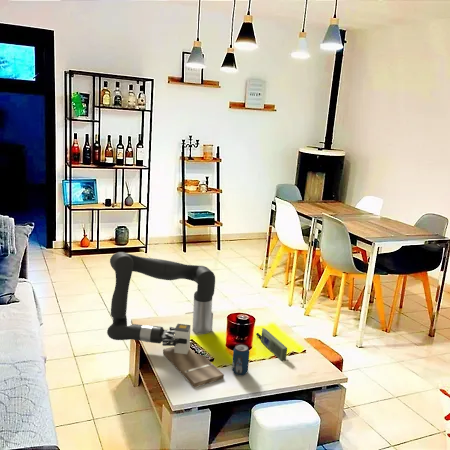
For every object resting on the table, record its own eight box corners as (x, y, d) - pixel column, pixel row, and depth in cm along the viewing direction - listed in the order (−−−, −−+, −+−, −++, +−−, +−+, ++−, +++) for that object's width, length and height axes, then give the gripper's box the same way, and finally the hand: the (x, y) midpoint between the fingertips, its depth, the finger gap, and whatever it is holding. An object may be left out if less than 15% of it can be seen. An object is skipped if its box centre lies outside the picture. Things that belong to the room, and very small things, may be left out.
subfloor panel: (190, 346, 222) (190, 342, 222) (223, 378, 198) (223, 374, 198) (163, 353, 215) (163, 348, 214) (194, 387, 191) (194, 382, 190)
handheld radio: (280, 361, 214) (253, 336, 236) (286, 360, 216) (259, 335, 237) (282, 348, 213) (255, 324, 234) (288, 347, 214) (261, 323, 236)
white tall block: (176, 347, 217) (177, 323, 214) (189, 348, 216) (190, 324, 213) (174, 352, 212) (175, 328, 209) (187, 354, 211) (188, 330, 208)
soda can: (244, 366, 208) (246, 342, 205) (250, 375, 202) (252, 350, 199) (229, 368, 206) (231, 344, 203) (235, 377, 199) (236, 352, 196)
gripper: (147, 334, 206) (185, 338, 204) (156, 319, 220) (191, 323, 218) (146, 349, 208) (184, 354, 206) (155, 334, 222) (191, 338, 220)
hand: (188, 338), depth 212 cm, fingers closed on white tall block, 5 cm apart
